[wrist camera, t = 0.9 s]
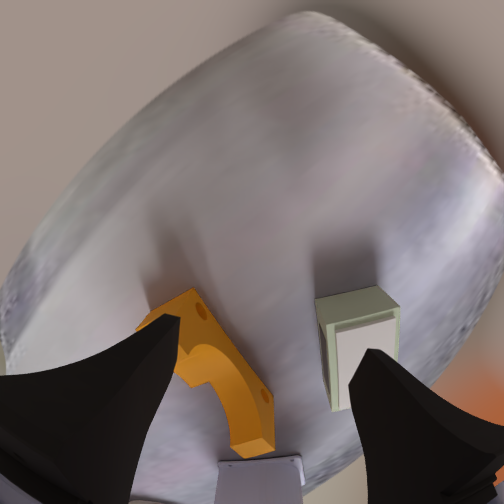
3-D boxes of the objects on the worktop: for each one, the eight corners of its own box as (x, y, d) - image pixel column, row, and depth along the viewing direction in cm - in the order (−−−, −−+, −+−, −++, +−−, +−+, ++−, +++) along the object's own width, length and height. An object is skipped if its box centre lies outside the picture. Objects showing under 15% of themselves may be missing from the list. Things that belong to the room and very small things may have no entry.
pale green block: (322, 381, 21) (332, 416, 17) (314, 299, 20) (326, 328, 15) (377, 367, 21) (394, 398, 17) (377, 285, 19) (402, 309, 15)
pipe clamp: (151, 310, 21) (115, 353, 14) (194, 286, 20) (167, 328, 14) (232, 410, 23) (225, 463, 17) (273, 394, 22) (275, 450, 16)
